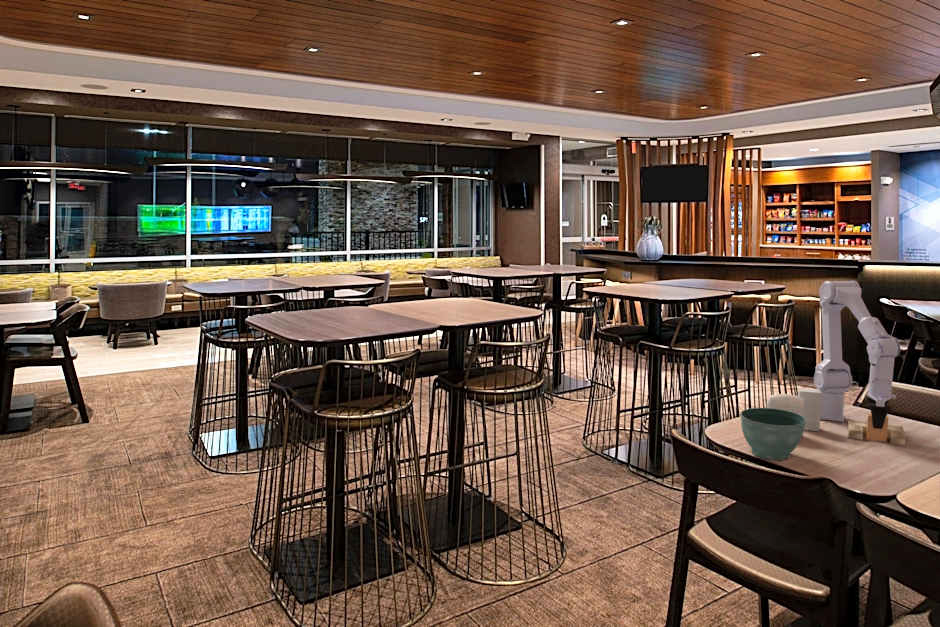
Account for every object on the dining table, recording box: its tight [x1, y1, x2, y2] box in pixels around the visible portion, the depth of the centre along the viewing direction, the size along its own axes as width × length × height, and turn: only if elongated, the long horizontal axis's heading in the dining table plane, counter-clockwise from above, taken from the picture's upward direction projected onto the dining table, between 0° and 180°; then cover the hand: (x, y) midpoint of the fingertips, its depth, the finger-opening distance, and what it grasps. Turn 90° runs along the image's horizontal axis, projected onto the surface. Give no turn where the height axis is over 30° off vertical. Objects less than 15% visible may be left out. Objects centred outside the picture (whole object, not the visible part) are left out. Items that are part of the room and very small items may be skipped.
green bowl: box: [740, 407, 806, 461], centre depth 187 cm, size 16×16×11 cm
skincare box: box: [797, 388, 822, 432], centre depth 210 cm, size 6×4×12 cm
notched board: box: [847, 419, 907, 446], centre depth 203 cm, size 14×11×2 cm
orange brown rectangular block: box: [865, 412, 889, 442], centre depth 201 cm, size 5×3×7 cm, turn 63°
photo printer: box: [766, 393, 805, 417], centre depth 204 cm, size 10×4×12 cm, turn 73°
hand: (876, 424), depth 201 cm, fingers open, 7 cm apart
